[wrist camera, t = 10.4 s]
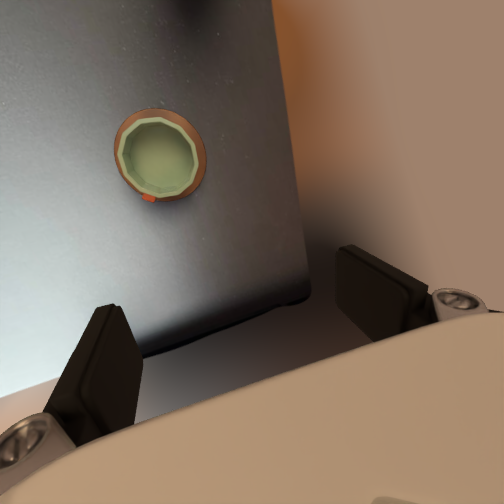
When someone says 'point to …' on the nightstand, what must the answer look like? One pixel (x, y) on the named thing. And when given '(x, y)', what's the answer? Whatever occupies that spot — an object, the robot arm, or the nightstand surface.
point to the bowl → (157, 157)
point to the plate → (186, 127)
